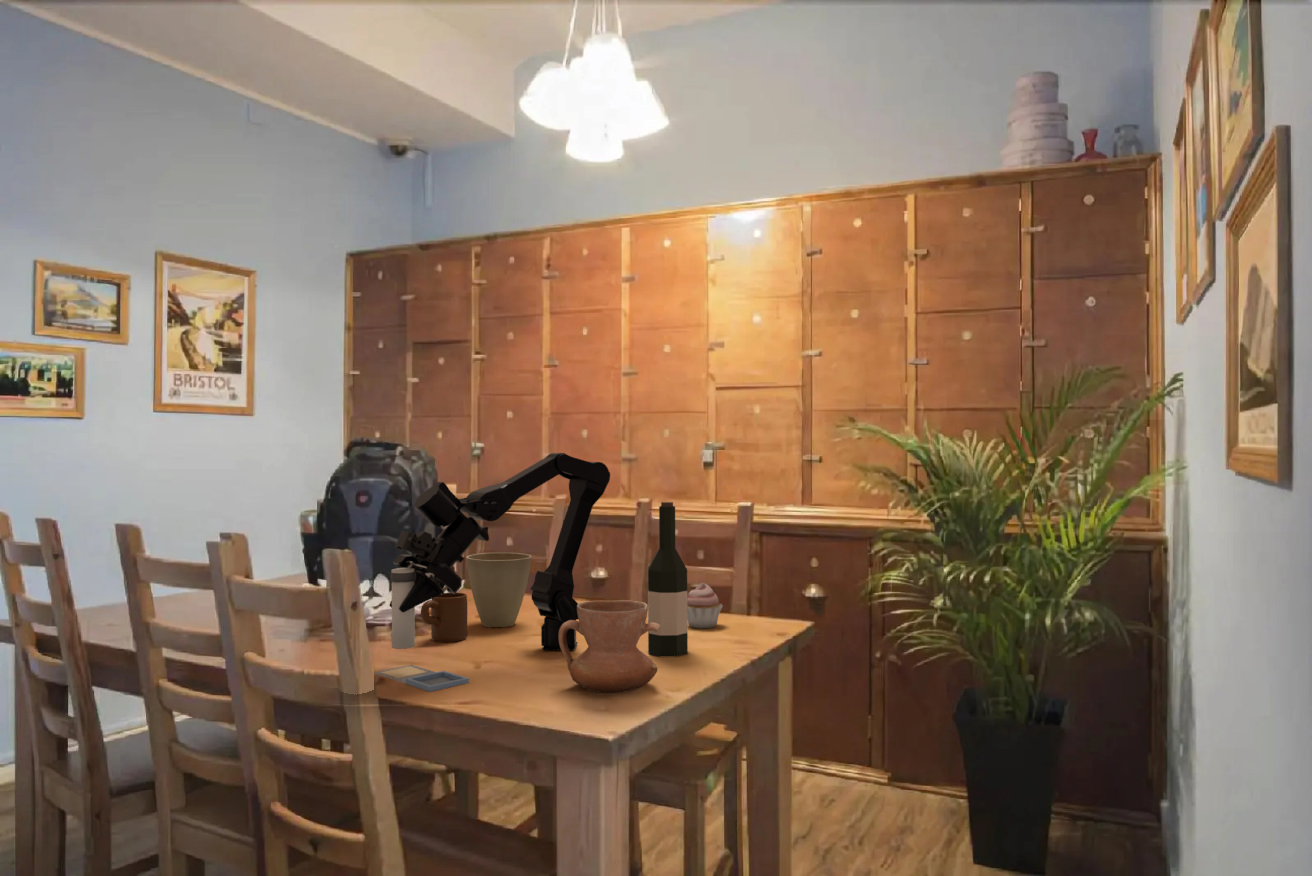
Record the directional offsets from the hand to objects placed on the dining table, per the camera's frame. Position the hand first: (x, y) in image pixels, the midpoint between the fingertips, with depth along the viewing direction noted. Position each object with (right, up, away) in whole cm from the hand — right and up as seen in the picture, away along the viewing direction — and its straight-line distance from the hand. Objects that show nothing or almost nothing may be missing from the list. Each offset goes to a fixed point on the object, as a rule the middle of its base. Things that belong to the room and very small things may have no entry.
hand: (395, 609), depth 163 cm
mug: (+2, -12, +29) cm, 31 cm away
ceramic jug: (+39, -12, -9) cm, 42 cm away
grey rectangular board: (+5, -12, -3) cm, 13 cm away
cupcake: (+58, -12, +43) cm, 73 cm away
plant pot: (+11, -12, +46) cm, 49 cm away
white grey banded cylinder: (+1, -7, +1) cm, 7 cm away
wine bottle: (+49, -12, +17) cm, 54 cm away
